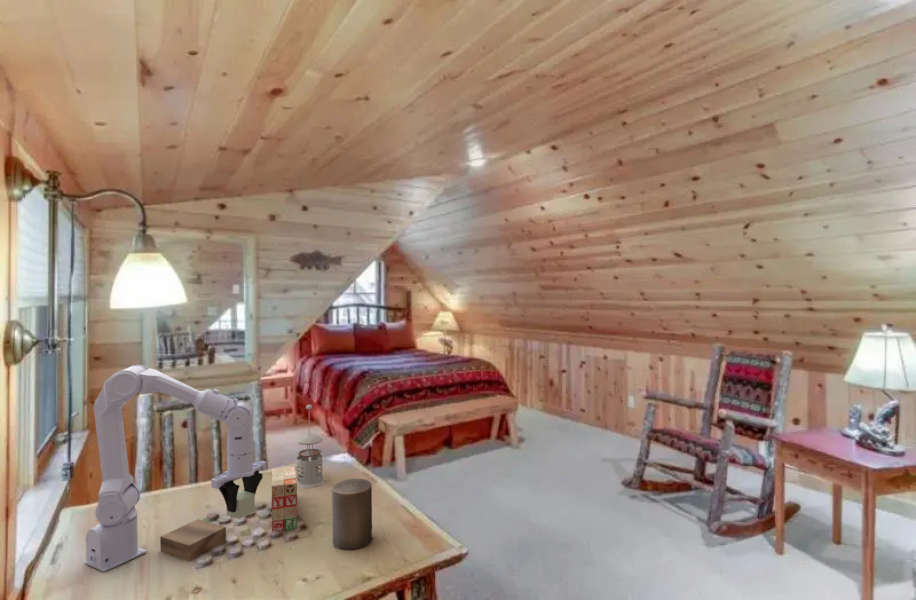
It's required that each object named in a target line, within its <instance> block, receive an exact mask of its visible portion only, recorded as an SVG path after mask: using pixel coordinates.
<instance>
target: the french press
mask: <svg viewBox="0 0 916 600" xmlns="http://www.w3.org/2000/svg"><path fill="white" fill-rule="evenodd" d="M305 408H306V409H307V410H308V433H307V434H304V435H301V436H300V437H298V438H297V439H296V440H295V441H296V443H297V444H298V445H301V446H302V445H303V446H306V449H301V450H300V451H298V453H297V454H298V456H297V457H296V478H297V488H298V487H299V488H300V489H312V488H317V487H321V486H322V485H324V484H325V483H326V481H325V480H326V479H325V477H323V455H322V454H321V453H322V450H321V449H319V448H314V445H316V444H319V443H321V442H323V440H324V439H323V437H322V436H320V435H317V434H314V433H311V432H310V431H311V429H310V428H311V426H310V425H311V424H310V423H311V422H310V419H311V417H310V414H311V413H310V410H311V409H313V405H312V404H307V405H306V407H305ZM309 459H310V460H309ZM323 483H324V484H323Z"/></svg>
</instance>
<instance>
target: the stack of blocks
mask: <svg viewBox="0 0 916 600" xmlns="http://www.w3.org/2000/svg"><path fill="white" fill-rule="evenodd" d="M270 470H271V532H272V533H274V532H273V531H277V532H283V531H288V530H289V531H290V530H293V529H294V528H296V529H297V528H298V514H297V513H298V512H297V511H298V487H297V471H296V468H295V466H289V467H288V466H287V467H279V468H272V469H270ZM280 530H281V531H280Z"/></svg>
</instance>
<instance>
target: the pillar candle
mask: <svg viewBox="0 0 916 600" xmlns="http://www.w3.org/2000/svg"><path fill="white" fill-rule="evenodd" d="M372 488H373V487H372V482H371V480H370V481H369V480H368V479H364V478H347V479H342V480H340V481H337V482H336V483H334V484H333V485H332V486H331V495H332V497H331V498H332V499H331V500H332V543H333V546H334V547H335V548H337V549H340V550H344V551H347V550H356V549H362V548H365V547H366V546H368V545H369V544H371V543H372V541H373V537H374V536H373V502H372V501H373V500H372V499H373V496H372V495H373V493H372V490H373V489H372Z"/></svg>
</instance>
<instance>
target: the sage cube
mask: <svg viewBox="0 0 916 600" xmlns="http://www.w3.org/2000/svg"><path fill="white" fill-rule="evenodd" d="M255 495H256V493H255V494H254V493H250V492H247V491H244V489H243V490H238V493H237V506H236V512H234V513H233V512H229V511H228V509H227V508H226V516H229V517H231V518H235V519H239V520H240V519H242V518H245V517H246V516H248V515H251V514H252V513H254V512H255V510H256V509H255V508H256V506H255V505H256V503H255V502H256V501H255V499H256V498H255V497H256V496H255Z"/></svg>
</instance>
